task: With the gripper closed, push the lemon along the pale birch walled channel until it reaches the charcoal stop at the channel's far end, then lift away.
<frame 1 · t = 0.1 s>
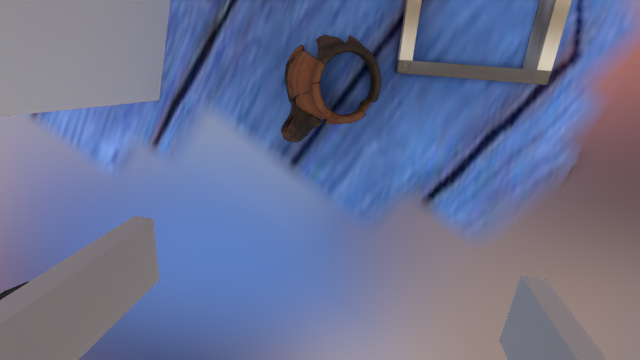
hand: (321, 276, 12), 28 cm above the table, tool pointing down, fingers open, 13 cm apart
milk: (118, 36, 40), on the table
brown open ring: (325, 88, 38), on the table
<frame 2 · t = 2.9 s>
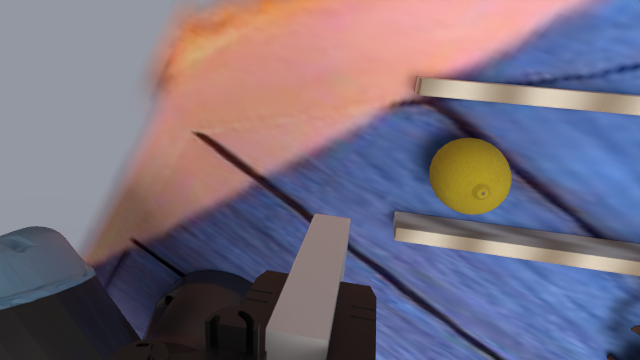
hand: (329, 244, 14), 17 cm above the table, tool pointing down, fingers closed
channel: (554, 172, 28), on the table
lemon: (455, 160, 30), on the table
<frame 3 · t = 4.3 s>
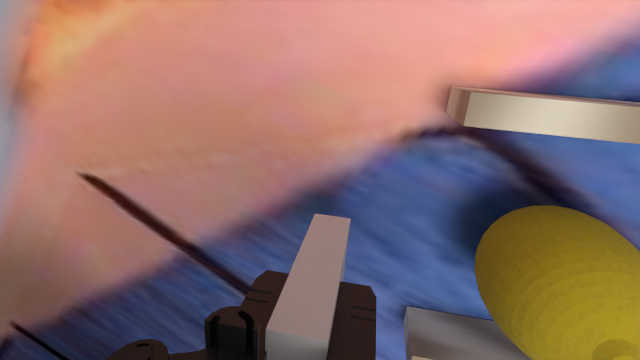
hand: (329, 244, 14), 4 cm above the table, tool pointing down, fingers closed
lemon: (514, 230, 17), on the table
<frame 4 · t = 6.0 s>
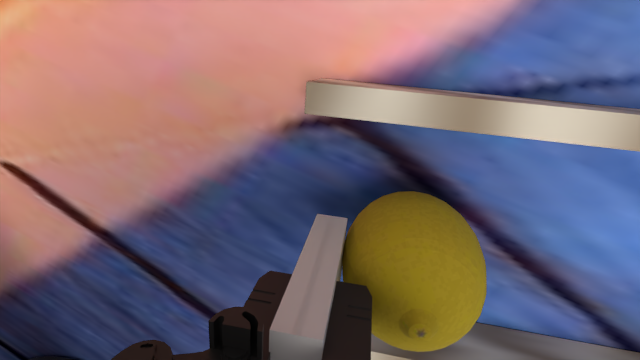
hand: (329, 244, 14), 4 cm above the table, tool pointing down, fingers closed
channel: (560, 244, 17), on the table
lemon: (403, 218, 18), on the table, touching gripper
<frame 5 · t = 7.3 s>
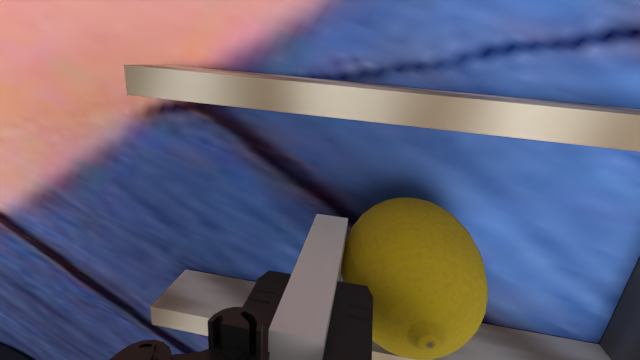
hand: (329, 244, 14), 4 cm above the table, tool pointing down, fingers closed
channel: (401, 220, 18), on the table
lemon: (396, 221, 18), on the table, touching gripper
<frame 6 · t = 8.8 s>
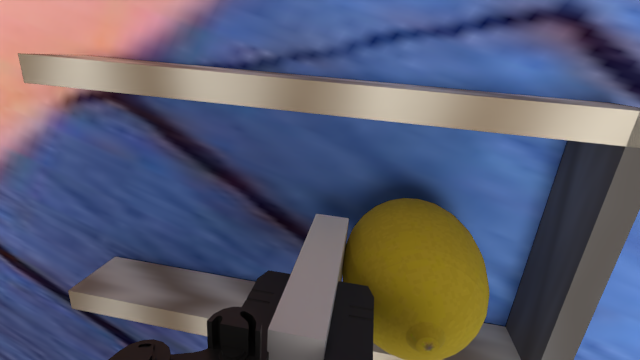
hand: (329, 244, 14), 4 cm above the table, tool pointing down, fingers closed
channel: (310, 206, 18), on the table
lemon: (399, 222, 18), on the table, touching gripper
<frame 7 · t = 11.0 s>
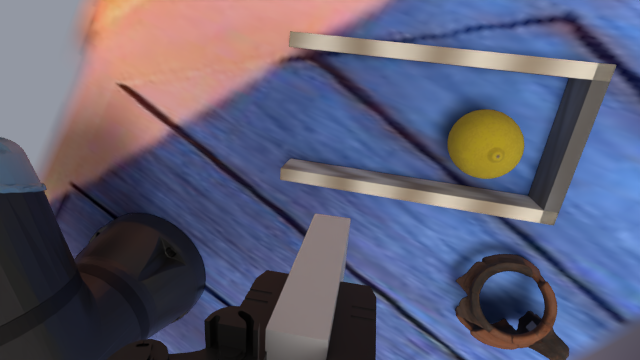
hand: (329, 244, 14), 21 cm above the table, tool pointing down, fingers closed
channel: (420, 123, 32), on the table
lemon: (472, 133, 32), on the table
brown open ring: (498, 291, 37), on the table
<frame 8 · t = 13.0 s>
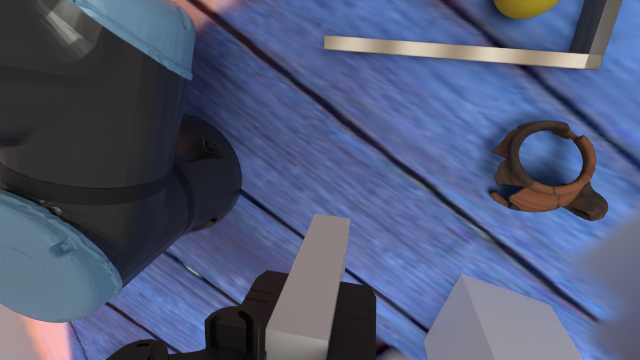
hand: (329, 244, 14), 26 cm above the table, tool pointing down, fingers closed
milk: (482, 322, 45), on the table
brown open ring: (531, 169, 38), on the table
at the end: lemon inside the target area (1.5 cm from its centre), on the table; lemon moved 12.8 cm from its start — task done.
